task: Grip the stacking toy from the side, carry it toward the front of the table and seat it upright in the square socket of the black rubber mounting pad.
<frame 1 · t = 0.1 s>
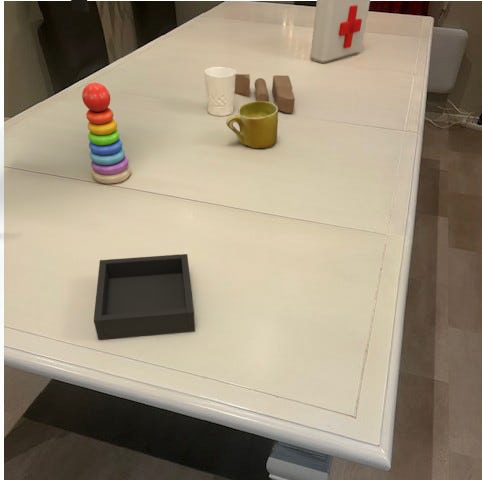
hand: (102, 3, 86), 30 cm above the table, tool pointing down, fingers open, 13 cm apart
bevelled white case: (336, 57, 167), on the table
socket pad: (147, 303, 73), on the table
mug: (251, 143, 115), on the table
wooden block set: (260, 102, 135), on the table
white cup: (220, 112, 129), on the table
stacking toy: (112, 176, 102), on the table
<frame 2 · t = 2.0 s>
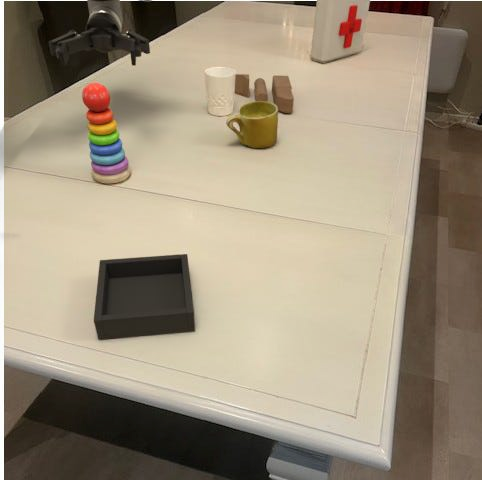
hand: (97, 59, 95), 20 cm above the table, tool horizontal, fingers open, 13 cm apart
nothing on the table moved.
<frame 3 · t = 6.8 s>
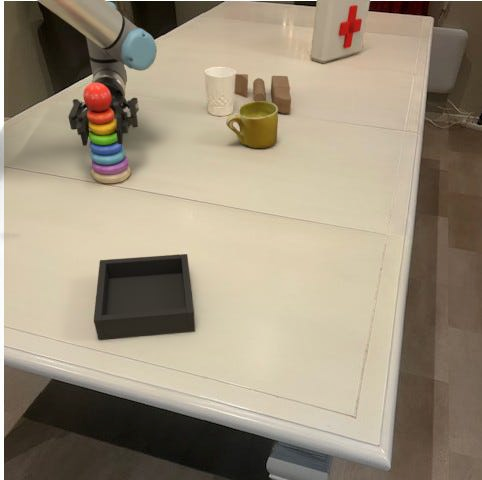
hand: (101, 137, 91), 11 cm above the table, tool horizontal, fingers closed on stacking toy, 6 cm apart
stacking toy: (111, 176, 102), on the table, touching gripper
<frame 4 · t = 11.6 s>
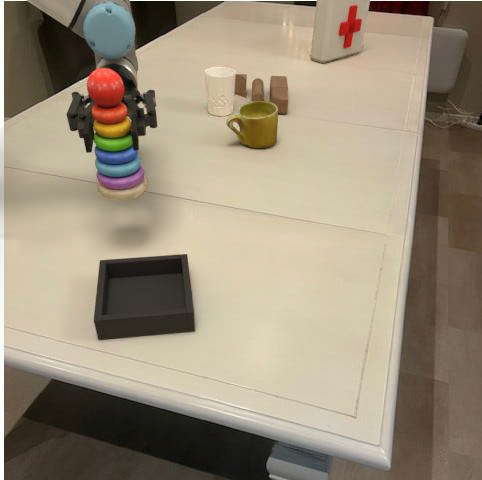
hand: (111, 142, 68), 20 cm above the table, tool horizontal, fingers closed on stacking toy, 6 cm apart
stacking toy: (123, 191, 79), point 9 cm above the table, touching gripper
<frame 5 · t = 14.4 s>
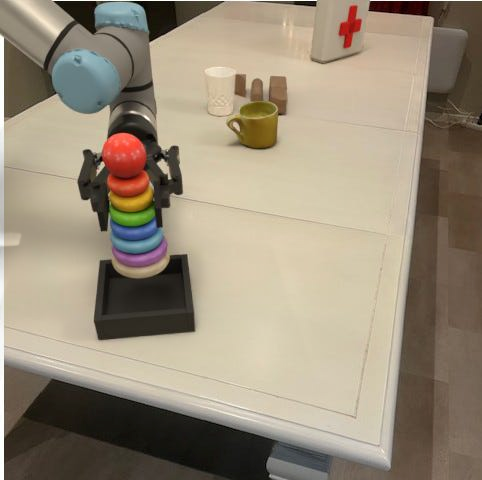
hand: (130, 219, 57), 18 cm above the table, tool horizontal, fingers closed on stacking toy, 6 cm apart
stacking toy: (141, 264, 68), point 7 cm above the table, touching gripper
when the fingers open (11 cm above the table, at t = 16.6 s): stacking toy stays where it is, resting on socket pad.
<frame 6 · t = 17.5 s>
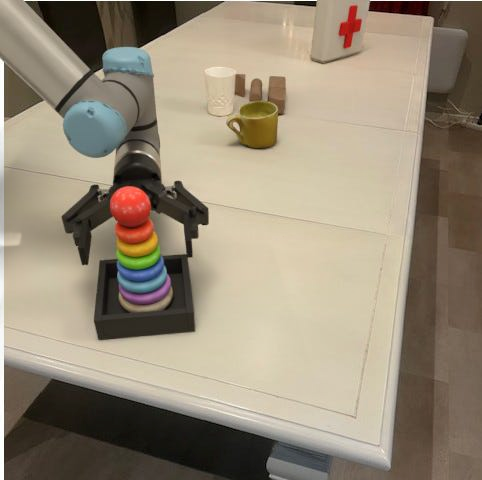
hand: (136, 253, 62), 12 cm above the table, tool horizontal, fingers open, 13 cm apart
stacking toy: (146, 300, 73), point 1 cm above the table, touching socket pad
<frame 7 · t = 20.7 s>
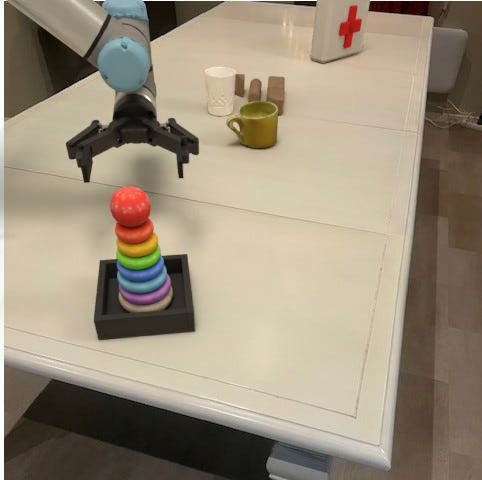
hand: (133, 172, 70), 16 cm above the table, tool horizontal, fingers open, 13 cm apart
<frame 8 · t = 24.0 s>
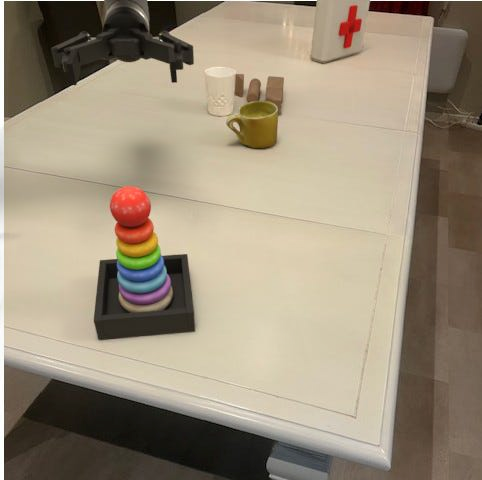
hand: (123, 73, 65), 28 cm above the table, tool horizontal, fingers open, 13 cm apart
at the end: stacking toy 0.1 cm off-centre in the socket pad, point 0.6 cm above the socket pad's base; stacking toy tilted 0°; the gripper is holding nothing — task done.
